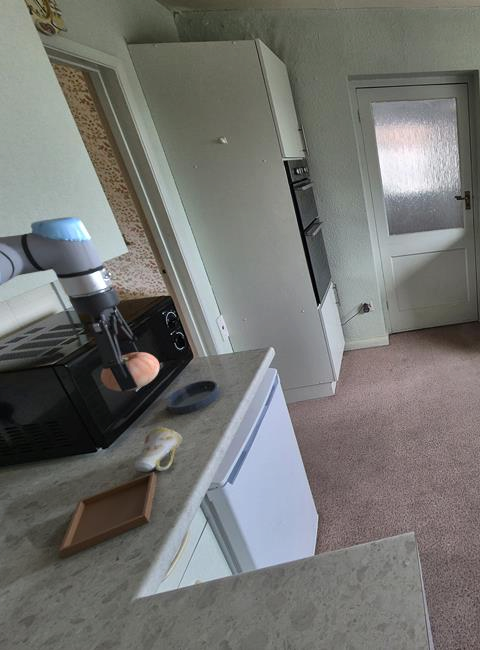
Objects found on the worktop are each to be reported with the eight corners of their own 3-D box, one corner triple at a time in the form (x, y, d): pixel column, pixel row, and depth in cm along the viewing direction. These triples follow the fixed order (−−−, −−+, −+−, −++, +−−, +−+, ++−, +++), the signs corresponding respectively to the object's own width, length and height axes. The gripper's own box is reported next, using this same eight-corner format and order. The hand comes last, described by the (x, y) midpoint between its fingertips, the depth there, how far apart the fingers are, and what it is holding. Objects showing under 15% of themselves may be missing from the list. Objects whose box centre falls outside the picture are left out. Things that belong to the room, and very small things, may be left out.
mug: (128, 479, 88) (122, 435, 88) (171, 464, 97) (165, 424, 98) (151, 475, 85) (145, 431, 86) (192, 460, 95) (186, 420, 96)
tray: (63, 558, 71) (57, 551, 70) (83, 506, 81) (78, 500, 80) (148, 521, 76) (145, 515, 76) (157, 477, 87) (153, 471, 86)
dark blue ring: (167, 420, 106) (163, 413, 105) (171, 397, 117) (168, 390, 116) (220, 402, 112) (217, 395, 111) (219, 381, 122) (217, 375, 121)
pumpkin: (110, 384, 93) (95, 356, 90) (164, 367, 99) (151, 340, 95) (107, 405, 85) (91, 375, 82) (165, 385, 91) (152, 356, 87)
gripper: (101, 303, 74) (146, 395, 83) (122, 274, 93) (157, 352, 102) (50, 313, 71) (103, 408, 80) (82, 281, 89) (122, 361, 98)
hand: (133, 377), depth 91 cm, fingers closed on pumpkin, 11 cm apart
